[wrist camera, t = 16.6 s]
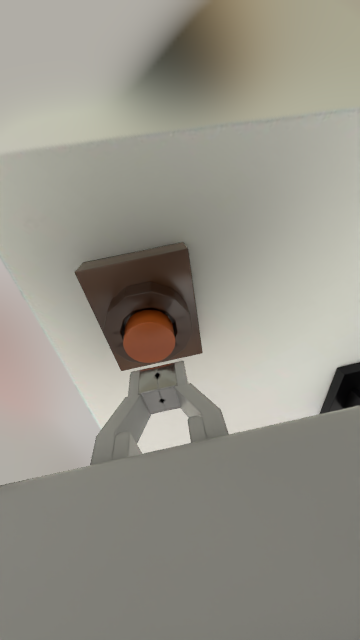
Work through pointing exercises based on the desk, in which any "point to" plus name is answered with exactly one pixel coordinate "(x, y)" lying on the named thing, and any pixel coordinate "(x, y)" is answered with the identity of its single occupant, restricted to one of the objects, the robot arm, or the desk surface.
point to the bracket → (343, 389)
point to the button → (149, 336)
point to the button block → (143, 296)
